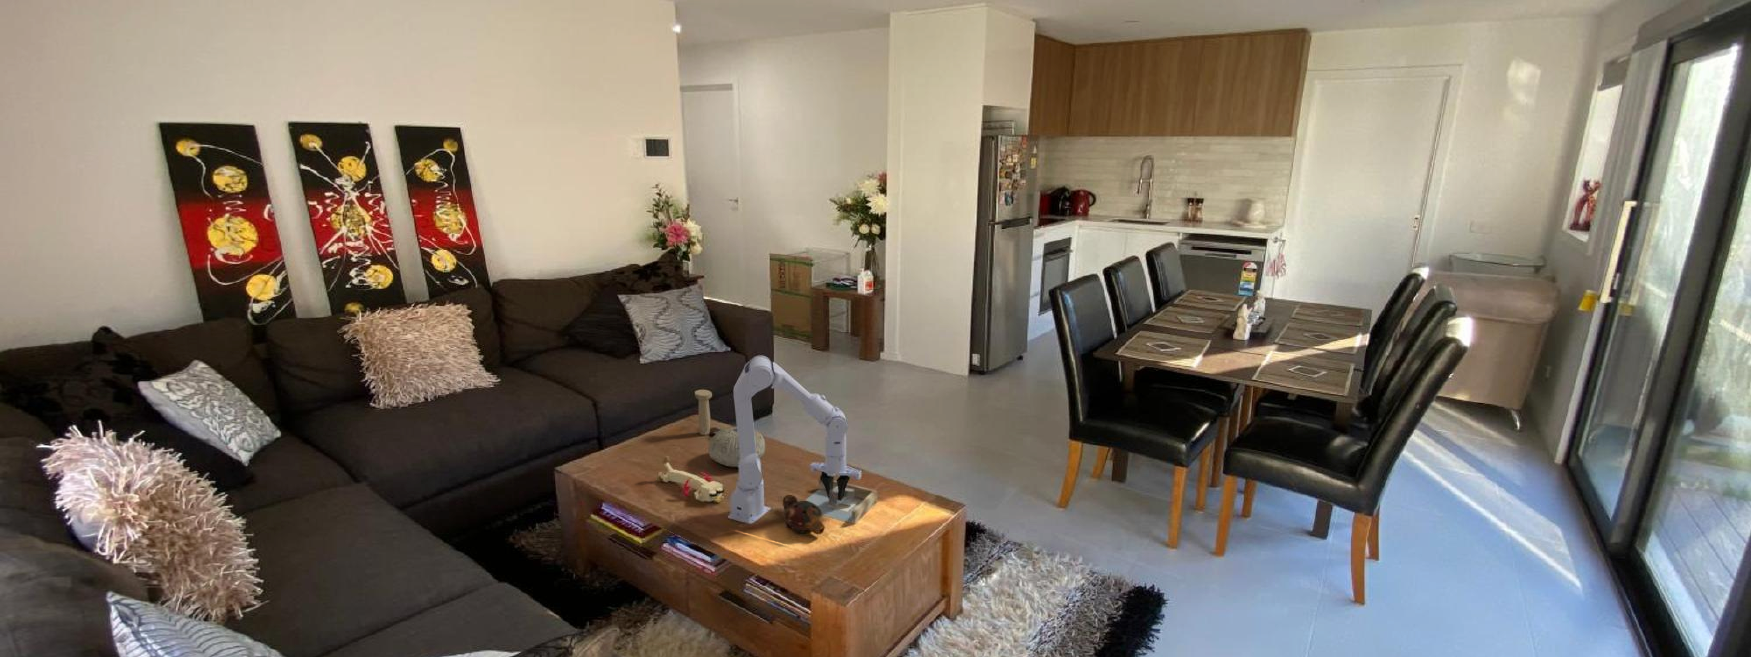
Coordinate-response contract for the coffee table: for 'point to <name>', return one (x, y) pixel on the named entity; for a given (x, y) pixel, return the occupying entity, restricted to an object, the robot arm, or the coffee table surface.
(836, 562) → the coffee table surface
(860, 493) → the walls
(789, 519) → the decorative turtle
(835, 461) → the robot arm
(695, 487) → the cream blocky elongated figure
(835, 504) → the bracket
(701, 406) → the handle
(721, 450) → the decorative shell
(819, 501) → the board
